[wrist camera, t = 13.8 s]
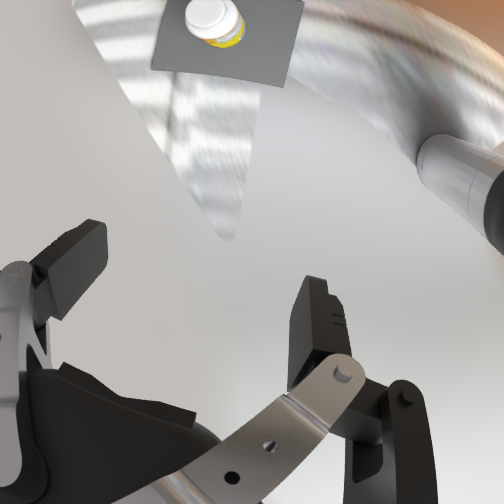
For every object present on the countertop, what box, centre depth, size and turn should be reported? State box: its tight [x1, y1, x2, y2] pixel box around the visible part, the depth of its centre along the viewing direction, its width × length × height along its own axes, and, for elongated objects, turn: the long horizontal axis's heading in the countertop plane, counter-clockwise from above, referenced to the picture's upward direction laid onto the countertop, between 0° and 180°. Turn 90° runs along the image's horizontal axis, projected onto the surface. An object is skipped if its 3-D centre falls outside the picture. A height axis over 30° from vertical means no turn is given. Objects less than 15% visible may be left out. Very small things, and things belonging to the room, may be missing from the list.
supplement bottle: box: [185, 0, 246, 49], centre depth 24 cm, size 6×6×10 cm
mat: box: [151, 0, 304, 88], centre depth 28 cm, size 18×13×1 cm
